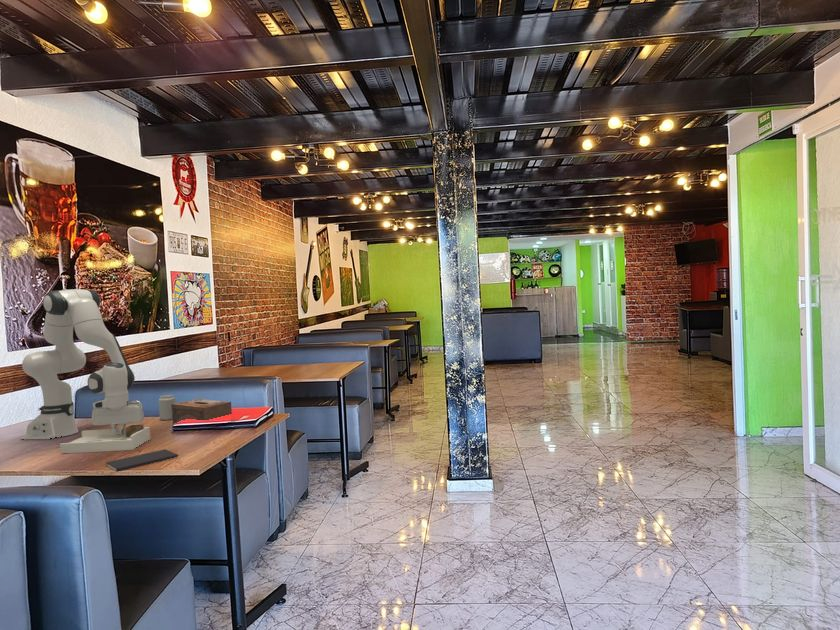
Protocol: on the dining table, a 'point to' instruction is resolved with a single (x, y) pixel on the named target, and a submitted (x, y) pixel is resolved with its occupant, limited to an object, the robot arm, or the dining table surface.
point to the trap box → (105, 441)
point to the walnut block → (133, 429)
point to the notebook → (140, 460)
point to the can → (166, 407)
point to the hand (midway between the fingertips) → (119, 434)
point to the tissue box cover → (200, 409)
